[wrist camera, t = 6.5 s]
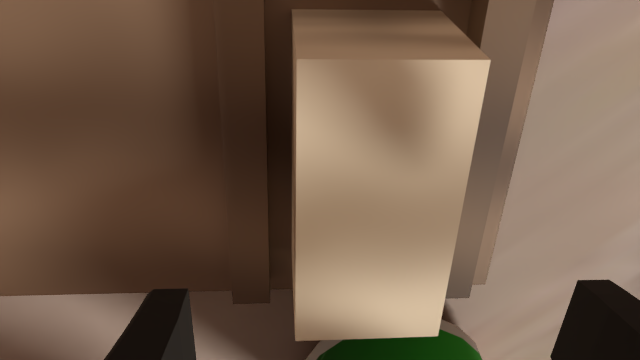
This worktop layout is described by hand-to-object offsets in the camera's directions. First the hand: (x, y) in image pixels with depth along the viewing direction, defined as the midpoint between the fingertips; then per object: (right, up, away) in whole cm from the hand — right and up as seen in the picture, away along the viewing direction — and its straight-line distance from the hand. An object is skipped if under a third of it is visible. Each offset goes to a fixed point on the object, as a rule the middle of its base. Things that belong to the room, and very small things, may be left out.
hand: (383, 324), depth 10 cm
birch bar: (0, +4, +6) cm, 7 cm away
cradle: (-5, +4, +7) cm, 10 cm away
